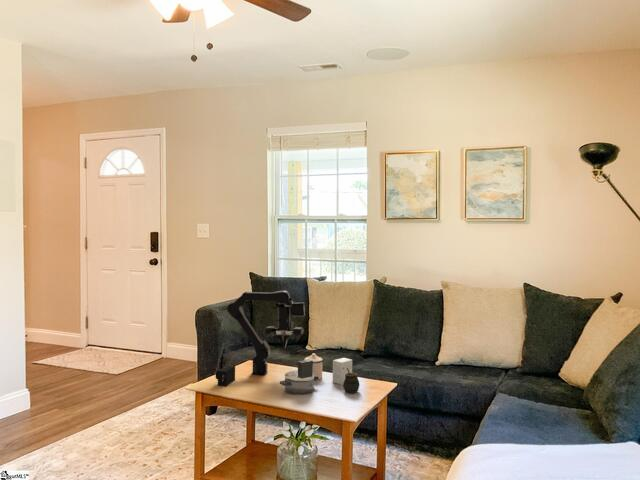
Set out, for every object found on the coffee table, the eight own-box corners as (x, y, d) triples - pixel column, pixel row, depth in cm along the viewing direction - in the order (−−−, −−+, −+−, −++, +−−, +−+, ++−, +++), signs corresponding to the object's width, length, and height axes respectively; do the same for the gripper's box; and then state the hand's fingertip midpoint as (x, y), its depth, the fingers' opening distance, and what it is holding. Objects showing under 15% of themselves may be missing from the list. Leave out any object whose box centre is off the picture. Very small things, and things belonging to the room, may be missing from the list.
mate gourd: (350, 395, 239) (350, 372, 238) (339, 391, 245) (339, 369, 244) (362, 392, 243) (362, 370, 243) (351, 388, 249) (351, 366, 249)
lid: (279, 376, 246) (279, 358, 245) (302, 371, 254) (302, 354, 254) (296, 383, 235) (296, 364, 235) (320, 378, 244) (320, 360, 243)
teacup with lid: (326, 377, 266) (326, 353, 266) (315, 381, 258) (315, 357, 258) (306, 372, 273) (306, 349, 272) (295, 377, 265) (295, 353, 265)
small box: (343, 379, 263) (344, 357, 263) (352, 381, 259) (352, 359, 259) (332, 382, 258) (332, 360, 257) (340, 384, 254) (341, 362, 253)
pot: (273, 390, 244) (274, 378, 244) (306, 382, 256) (307, 371, 256) (291, 397, 234) (291, 385, 234) (324, 389, 246) (324, 377, 246)
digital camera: (224, 379, 260) (224, 364, 259) (235, 380, 258) (235, 365, 258) (215, 385, 250) (215, 370, 249) (226, 386, 248) (226, 371, 248)
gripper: (306, 314, 274) (307, 345, 275) (271, 313, 279) (271, 343, 279) (300, 318, 264) (300, 350, 264) (263, 316, 268) (264, 348, 269)
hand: (284, 347), depth 269 cm, fingers closed
